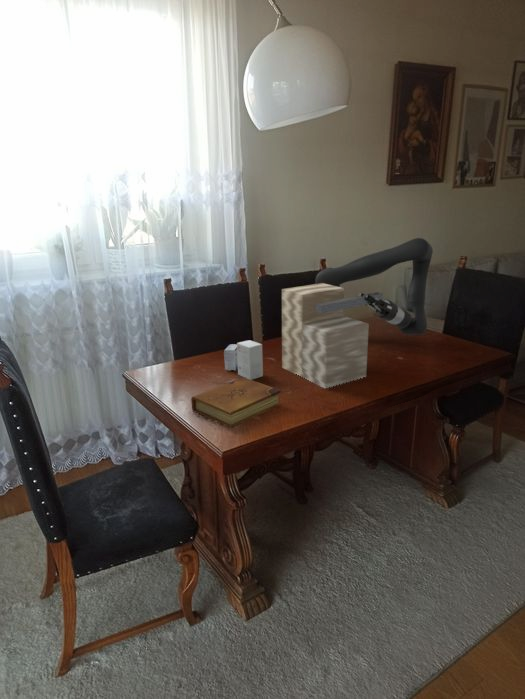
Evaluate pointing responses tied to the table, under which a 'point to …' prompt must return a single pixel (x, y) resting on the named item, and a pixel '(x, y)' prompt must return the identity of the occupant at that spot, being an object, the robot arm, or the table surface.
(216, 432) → the table surface
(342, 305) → the bar
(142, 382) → the table surface
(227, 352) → the medicine box
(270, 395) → the diary
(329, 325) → the stand
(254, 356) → the small box
